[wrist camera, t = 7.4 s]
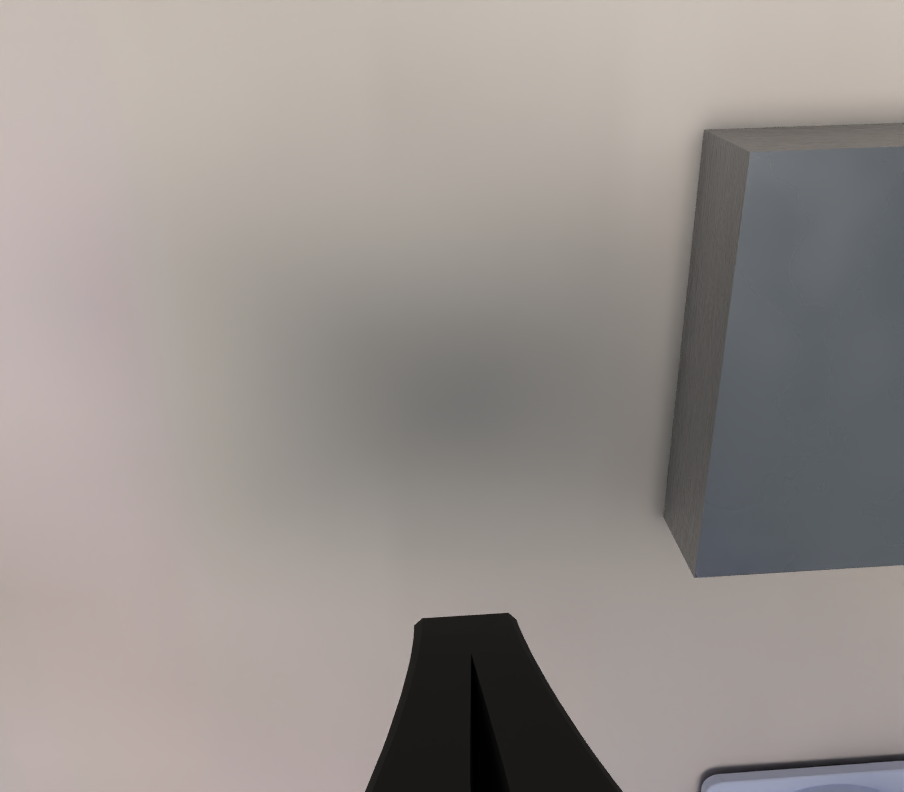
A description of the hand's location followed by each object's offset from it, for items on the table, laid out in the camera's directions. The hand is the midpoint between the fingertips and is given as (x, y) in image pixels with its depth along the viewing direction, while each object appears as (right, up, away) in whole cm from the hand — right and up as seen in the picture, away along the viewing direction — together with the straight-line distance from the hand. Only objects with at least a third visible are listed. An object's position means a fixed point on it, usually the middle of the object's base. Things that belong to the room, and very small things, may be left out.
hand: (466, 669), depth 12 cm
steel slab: (+10, +6, +9) cm, 15 cm away
